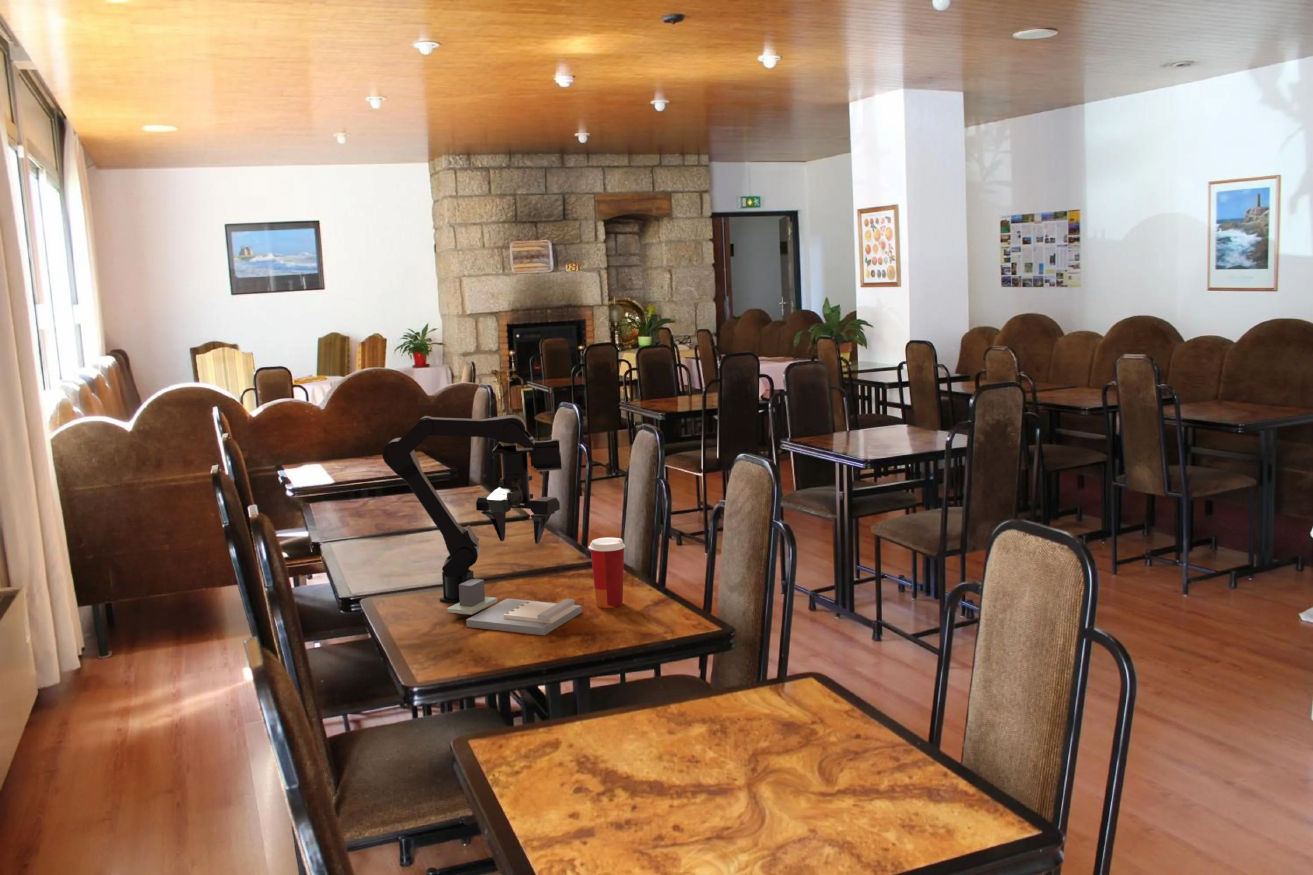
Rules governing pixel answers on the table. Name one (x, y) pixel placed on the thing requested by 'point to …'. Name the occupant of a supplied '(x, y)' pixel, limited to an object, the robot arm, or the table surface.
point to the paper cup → (608, 571)
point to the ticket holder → (525, 616)
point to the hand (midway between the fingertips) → (519, 542)
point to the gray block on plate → (471, 598)
